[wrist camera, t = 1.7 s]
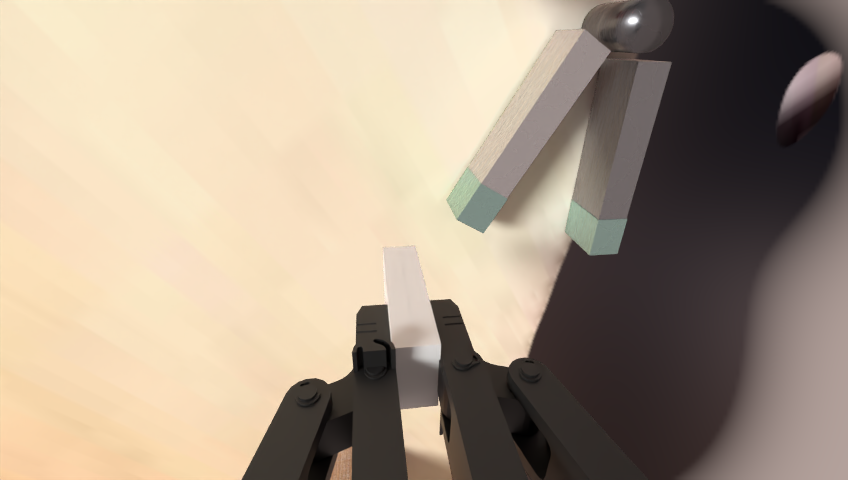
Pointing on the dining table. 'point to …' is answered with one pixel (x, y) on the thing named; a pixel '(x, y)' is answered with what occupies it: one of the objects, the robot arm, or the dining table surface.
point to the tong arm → (526, 125)
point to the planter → (343, 466)
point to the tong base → (618, 120)
